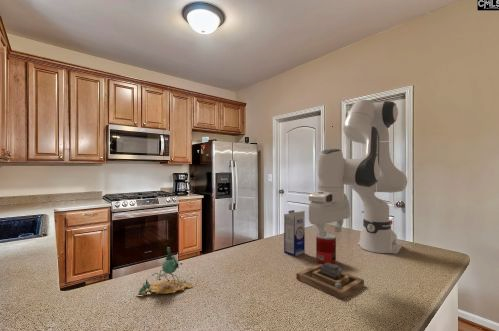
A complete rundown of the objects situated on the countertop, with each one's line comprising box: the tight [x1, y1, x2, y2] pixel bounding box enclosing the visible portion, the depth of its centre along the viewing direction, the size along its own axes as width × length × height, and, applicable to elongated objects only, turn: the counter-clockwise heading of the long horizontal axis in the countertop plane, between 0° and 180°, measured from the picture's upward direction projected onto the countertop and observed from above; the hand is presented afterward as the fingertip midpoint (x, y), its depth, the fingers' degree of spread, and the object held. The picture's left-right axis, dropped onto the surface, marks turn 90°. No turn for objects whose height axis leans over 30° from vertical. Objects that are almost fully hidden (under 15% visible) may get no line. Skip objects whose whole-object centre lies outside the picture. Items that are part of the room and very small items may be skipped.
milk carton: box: [283, 209, 306, 258], centre depth 115 cm, size 7×7×20 cm
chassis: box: [295, 263, 365, 300], centre depth 86 cm, size 14×18×3 cm
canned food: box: [315, 232, 337, 265], centre depth 105 cm, size 8×8×11 cm
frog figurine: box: [136, 246, 194, 296], centre depth 81 cm, size 10×18×15 cm, turn 105°
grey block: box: [320, 262, 343, 281], centre depth 87 cm, size 4×6×6 cm, turn 39°
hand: (330, 234), depth 87 cm, fingers open, 8 cm apart
